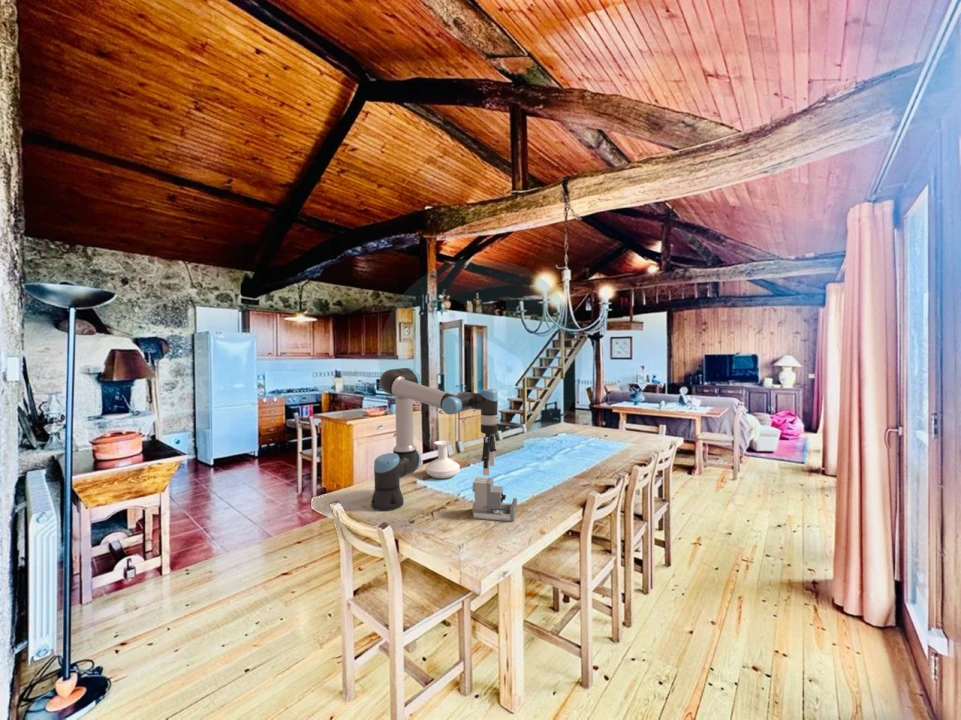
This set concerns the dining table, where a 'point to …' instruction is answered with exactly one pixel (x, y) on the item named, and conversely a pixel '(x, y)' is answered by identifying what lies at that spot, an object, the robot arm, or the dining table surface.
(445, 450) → the white vase
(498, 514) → the channel
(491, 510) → the circuit breaker
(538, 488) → the dining table surface
